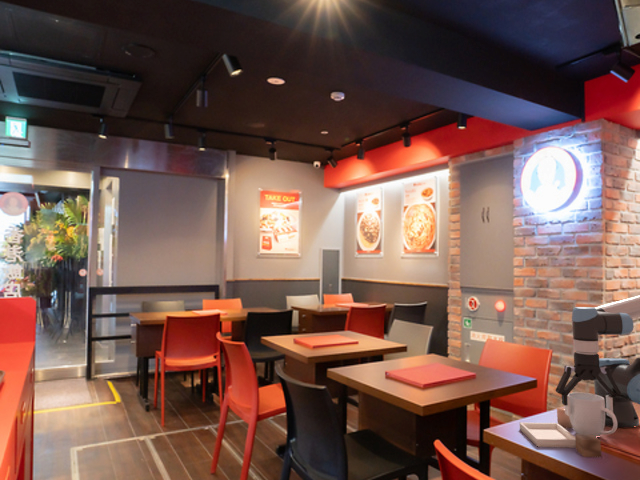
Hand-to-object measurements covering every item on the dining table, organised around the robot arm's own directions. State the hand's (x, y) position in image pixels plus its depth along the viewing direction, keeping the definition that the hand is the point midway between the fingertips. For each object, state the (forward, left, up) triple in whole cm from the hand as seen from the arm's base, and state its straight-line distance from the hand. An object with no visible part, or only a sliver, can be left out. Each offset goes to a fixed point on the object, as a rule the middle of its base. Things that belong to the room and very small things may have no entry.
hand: (588, 415), depth 152 cm
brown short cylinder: (+4, -10, -7) cm, 13 cm away
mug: (0, 0, -7) cm, 7 cm away
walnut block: (+8, +15, -7) cm, 18 cm away
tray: (+15, +2, -7) cm, 16 cm away
